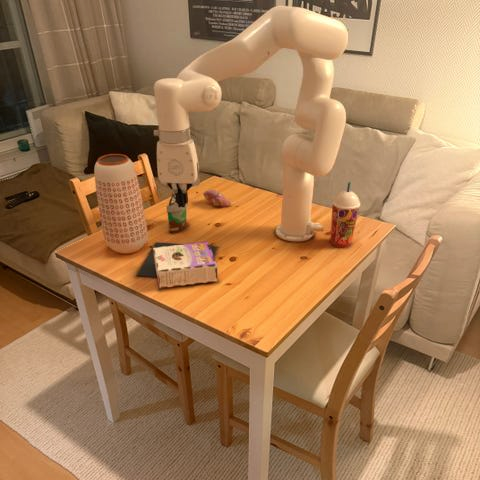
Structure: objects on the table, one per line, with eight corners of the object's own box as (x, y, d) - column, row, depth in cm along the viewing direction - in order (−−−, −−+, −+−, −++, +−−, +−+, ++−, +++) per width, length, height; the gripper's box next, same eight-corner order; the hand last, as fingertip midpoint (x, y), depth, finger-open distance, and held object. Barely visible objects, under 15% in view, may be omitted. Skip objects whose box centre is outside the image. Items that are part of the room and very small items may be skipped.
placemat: (217, 247, 144) (217, 246, 144) (204, 281, 128) (204, 279, 128) (156, 243, 146) (156, 242, 146) (136, 276, 130) (136, 275, 130)
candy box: (209, 258, 138) (154, 264, 135) (208, 240, 134) (152, 246, 131) (217, 282, 127) (158, 289, 124) (217, 264, 124) (156, 271, 121)
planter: (129, 234, 151) (114, 148, 134) (158, 245, 145) (146, 156, 128) (97, 250, 143) (78, 160, 125) (127, 262, 136) (110, 169, 119)
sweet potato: (206, 205, 174) (199, 192, 168) (213, 197, 175) (207, 183, 169) (224, 212, 168) (218, 199, 163) (232, 204, 169) (226, 190, 164)
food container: (187, 234, 151) (185, 206, 145) (169, 234, 151) (166, 206, 145) (191, 218, 161) (189, 191, 155) (174, 218, 161) (171, 191, 155)
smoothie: (348, 251, 141) (357, 189, 129) (323, 245, 145) (330, 184, 133) (357, 241, 147) (367, 180, 135) (333, 234, 151) (341, 175, 138)
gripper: (141, 139, 110) (152, 210, 121) (201, 140, 108) (206, 212, 119) (150, 130, 115) (159, 198, 127) (207, 131, 114) (212, 200, 125)
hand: (182, 205), depth 123 cm, fingers closed
